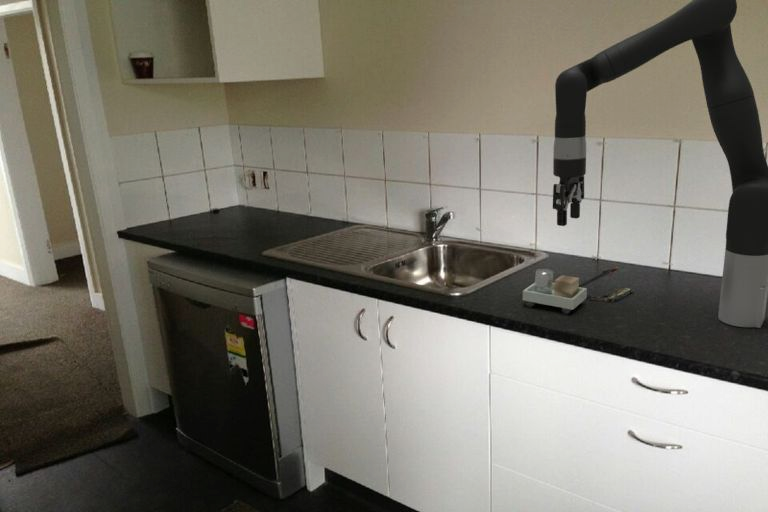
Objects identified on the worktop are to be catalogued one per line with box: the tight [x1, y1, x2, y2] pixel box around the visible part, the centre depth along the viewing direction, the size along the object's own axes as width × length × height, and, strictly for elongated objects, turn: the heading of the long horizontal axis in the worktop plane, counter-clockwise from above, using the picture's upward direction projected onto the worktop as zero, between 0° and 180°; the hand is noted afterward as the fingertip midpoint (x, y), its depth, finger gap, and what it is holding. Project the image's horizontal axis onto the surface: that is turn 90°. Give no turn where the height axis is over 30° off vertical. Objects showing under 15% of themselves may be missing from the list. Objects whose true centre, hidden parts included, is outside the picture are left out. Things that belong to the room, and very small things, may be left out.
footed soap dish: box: [522, 282, 588, 315], centre depth 166 cm, size 13×9×4 cm
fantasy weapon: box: [579, 266, 634, 303], centre depth 179 cm, size 29×2×15 cm
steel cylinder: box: [534, 268, 554, 295], centre depth 167 cm, size 4×4×6 cm
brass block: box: [554, 274, 580, 298], centre depth 163 cm, size 4×4×5 cm
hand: (568, 221), depth 158 cm, fingers open, 8 cm apart
